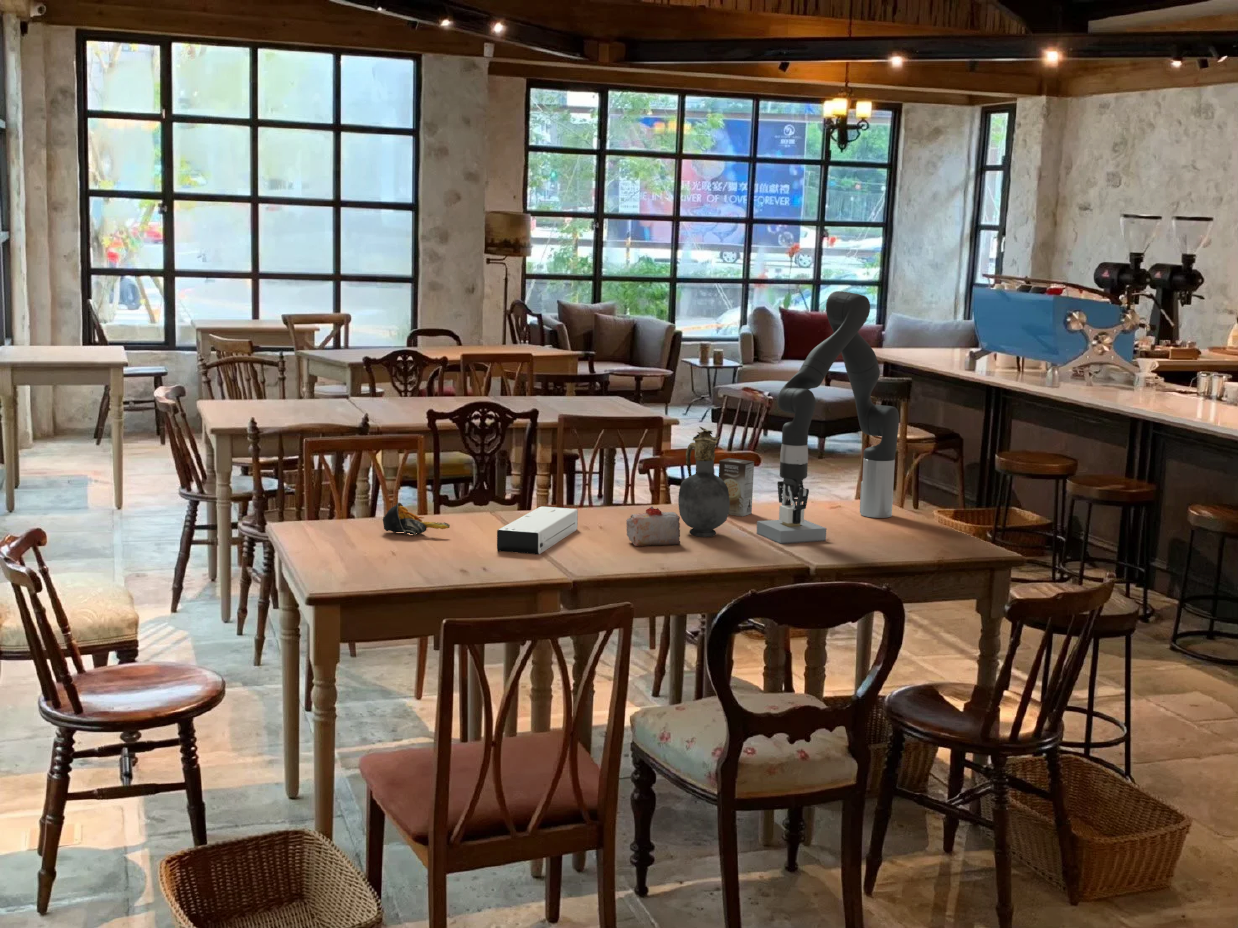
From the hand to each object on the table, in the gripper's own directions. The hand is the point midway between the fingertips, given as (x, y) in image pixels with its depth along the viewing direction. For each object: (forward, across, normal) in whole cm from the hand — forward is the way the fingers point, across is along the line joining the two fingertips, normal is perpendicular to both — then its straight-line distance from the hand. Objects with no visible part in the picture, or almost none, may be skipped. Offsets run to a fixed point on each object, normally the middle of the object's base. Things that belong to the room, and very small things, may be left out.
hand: (791, 521), depth 366 cm
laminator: (+5, -16, -67) cm, 69 cm away
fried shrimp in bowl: (+5, -32, -98) cm, 103 cm away
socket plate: (+4, 0, 0) cm, 4 cm away
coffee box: (+5, -35, 0) cm, 35 cm away
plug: (+3, 0, 0) cm, 3 cm away
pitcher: (+5, -12, -22) cm, 25 cm away
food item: (+5, -3, -40) cm, 40 cm away
